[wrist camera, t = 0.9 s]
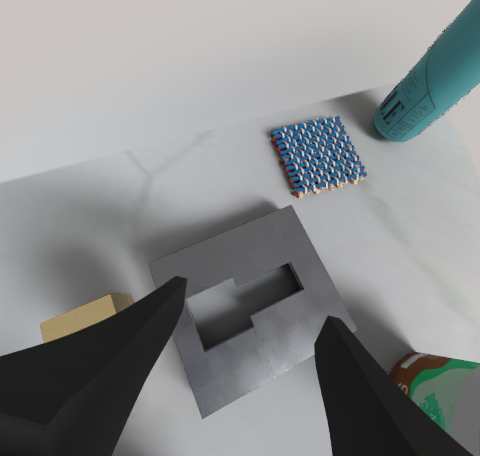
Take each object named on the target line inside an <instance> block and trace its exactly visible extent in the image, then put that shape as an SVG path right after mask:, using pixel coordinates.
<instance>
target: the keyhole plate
mask: <svg viewBox="0 0 480 456" xmlns="http://www.w3.org/2000/svg"><path fill="white" fill-rule="evenodd" d="M287 263H288V264H289V266H290V268H291V270H292V272H293V274H294V276H295V278H296V280H297V282H298V284H299V286H300V288H301V290H299V291H297V292H295V293H293V294H291V295H289V296H287V297H285V298H283V299H281V300H279V301H277V302H275V303H273V304H271V305H269V306H267V307H265V308H263V309H261V310H259V311H257V312H255V313H253V314H251V315H249V317H250V319H251V321H252V324H253V326H251V327H249V328H247V329H245V330H243V331H241V332H239V333H237V334H235V335H233V336H231V337H230V338H228V339H226V340H224V341H222V342H220V343H218V344H216V345H214V346H212V347H210V348H208V349H206V350H205V348H204V345H203V343H202V340H201V337H200V335H199V332H198V329H197V327H196V324H195V321H194V319H193V316H192V313H191V311H190V308H189V305H188V303H187V300H186V299H187V298H189V297H191V296H193V295H195V294H197V293H200V292H202V291H204V290H206V289H208V288H211V287H213V286H215V285H217V284H219V283H222V282H224V281H226V280H228V279H230V278H233V280H234V282H235V284H236V287H237V286H239V285H242V284H244V283H246V282H248V281H250V280H252V279H254V278H257V277H259V276H261V275H263V274H265V273H267V272H269V271H272V270H274V269H276V268H278V267H280V266H282V265H284V264H287ZM148 265H149V268H150V271H151V273H152V276H153V279H154V282H155V285H156V288H157V289H158V288H159V287H160V286H162V285H163V284H165V283H166V282H168V281H169V280H170V279H172V278H173V277H175V276H179V277H183V278H187V279H188V280H187V287H186V294H185V300H184V307H183V311H182V313H181V316H180V318H179V321H178V323H177V325H176V327H175V329H174V331H173V333H172V334H173V336H174V339H175V342H176V345H177V348H178V351H179V354H180V356H181V359H182V362H183V365H184V368H185V371H186V374H187V376H188V379H189V382H190V385H191V388H192V391H193V394H194V397H195V399H196V402H197V405H198V408H199V411H200V414H201V417H202V419H203V418H205V417H207V416H208V415H210V414H212V413H214V412H215V411H217V410H219V409H221V408H222V407H224V406H226V405H228V404H229V403H231V402H233V401H235V400H236V399H238V398H240V397H242V396H243V395H245V394H247V393H249V392H250V391H252V390H254V389H256V388H257V387H259V386H261V385H263V384H264V383H266V382H268V381H270V380H271V379H273V378H275V377H277V376H278V375H280V374H282V373H284V372H285V371H287V370H289V369H291V368H292V367H294V366H296V365H298V364H299V363H301V362H303V361H305V360H306V359H308V358H310V357H312V356H313V355H315V352H314V343H315V341H316V339H317V337H318V335H319V333H320V331H321V329H322V327H323V324H324V322H325V320H326V318H327V316H328V315H329V316H333V317H337V318H340V319H341V320H342V321H343V322H344V323H345V324H346V326H347V327H348V328H349V329H350V330H351V332H352V333H353V332H355V331H357V330H358V329H357V327H356V325H355V323H354V321H353V320H352V318H351V316H350V314H349V312H348V310H347V308H346V306H345V305H344V303H343V301H342V299H341V297H340V295H339V293H338V291H337V290H336V288H335V286H334V284H333V282H332V280H331V278H330V276H329V275H328V273H327V271H326V269H325V267H324V265H323V263H322V261H321V260H320V258H319V256H318V254H317V252H316V250H315V248H314V246H313V245H312V243H311V241H310V239H309V237H308V235H307V233H306V231H305V230H304V228H303V226H302V224H301V222H300V220H299V218H298V216H297V215H296V213H295V211H294V209H293V207H292V205H289V206H287V207H285V208H282V209H280V210H277V211H275V212H272V213H270V214H268V215H265V216H263V217H260V218H258V219H255V220H253V221H250V222H248V223H246V224H243V225H241V226H238V227H236V228H233V229H231V230H229V231H226V232H224V233H221V234H219V235H216V236H214V237H211V238H209V239H207V240H204V241H202V242H199V243H197V244H194V245H192V246H189V247H187V248H185V249H182V250H180V251H177V252H175V253H172V254H170V255H168V256H165V257H163V258H160V259H158V260H155V261H153V262H150V263H148Z"/></svg>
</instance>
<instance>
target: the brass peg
mask: <svg viewBox="0 0 480 456" xmlns="http://www.w3.org/2000/svg"><path fill="white" fill-rule="evenodd" d="M132 304H134V301H133V298H132V295H131V294H109V295H107V296H104V297H102V298H100V299H97V300H95V301H92V302H90V303H88V304H85V305H83V306H81V307H78V308H76V309H74V310H71V311H69V312H66V313H64V314H62V315H59V316H57V317H55V318H52V319H50V320H48V321H45V322H43V323H40V328H41V332H42V337H43V341H44V343H46V342H49V341H52V340H55V339H58V338H61V337H63V336H66V335H69V334H71V333H74V332H76V331H79V330H81V329H84V328H86V327H88V326H91V325H93V324H96V323H98V322H100V321H102V320H104V319H106V318H108V317H110V316H112V315H114V314H116V313H118V312H120V311H122V310H124V309H126V308H127V307H129V306H131V305H132Z"/></svg>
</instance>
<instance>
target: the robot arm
mask: <svg viewBox="0 0 480 456" xmlns="http://www.w3.org/2000/svg"><path fill="white" fill-rule="evenodd" d="M187 280H188V279H187V278H183V277H179V276H175V277H173V278H172V279H170V280H169V281H168V282H166V283H165V284H163V285H162V286H160V287H159V288H158V289H156V290H155V291H153V292H152V293H150V294H149V295H147V296H145V297H144V298H142V299H141V300H139V301H137V302H136V303H134V304H132V305H131V306H129V307H127V308H126V309H124V310H122V311H120V312H118V313H116V314H114V315H112V316H110V317H108V318H106V319H104V320H102V321H100V322H98V323H96V324H93V325H91V326H88V327H86V328H84V329H81V330H79V331H76V332H74V333H71V334H69V335H66V336H63V337H61V338H58V339H55V340H52V341H49V342H46V343H43V344H40V345H37V346H34V347H31V348H27V349H24V350H21V351H17V352H14V353H10V354H7V355H3V356H0V456H112V453H113V451H114V449H115V446H116V444H117V442H118V440H119V437H120V435H121V433H122V431H123V428H124V426H125V424H126V422H127V419H128V417H129V415H130V413H131V411H132V408H133V406H134V404H135V402H136V400H137V398H138V396H139V393H140V391H141V389H142V387H143V385H144V383H145V381H146V379H147V377H148V375H149V373H150V371H151V369H152V368H153V366H154V364H155V363H156V361H157V359H158V357H159V356H160V354H161V352H162V350H163V349H164V347H165V345H166V343H167V342H168V340H169V338H170V336H171V335H172V333H173V331H174V329H175V327H176V325H177V323H178V321H179V318H180V316H181V313H182V311H183V307H184V300H185V294H186V287H187ZM314 352H315V363H316V369H317V374H318V379H319V384H320V388H321V393H322V398H323V402H324V407H325V411H326V416H327V421H328V426H329V432H330V439H331V446H332V454H333V456H473V455H472V454H471V453H470V452H469V451H467V450H466V449H465V448H464V447H463V446H462V445H460V444H459V443H458V442H457V441H456V440H455V439H453V438H452V437H451V436H450V435H449V434H448V433H447V432H446V431H445V430H443V429H442V428H441V427H440V426H439V425H438V424H437V423H436V422H435V421H433V420H432V419H431V418H430V417H429V416H428V415H427V414H426V413H425V412H424V411H423V410H422V409H421V408H420V407H419V406H418V405H417V404H416V403H415V402H414V401H413V400H412V399H411V398H410V397H409V396H408V395H407V394H406V393H405V392H404V391H403V390H402V389H401V388H400V387H399V386H398V385H397V384H396V383H395V382H394V381H393V380H392V379H391V378H390V376H389V375H388V374H387V373H386V372H385V371H384V370H383V369H382V368H381V366H380V365H379V364H378V363H377V362H376V361H375V359H374V358H373V357H372V356H371V355H370V354H369V352H368V351H367V350H366V349H365V348H364V346H363V345H362V344H361V343H360V341H359V340H358V339H357V338H356V337H355V335H354V334H353V333H352V332H351V330H350V329H349V328H348V327H347V326H346V324H345V323H344V322H343V321H342V320H341V319H340V318H337V317H333V316H329V315H328V316H327V318H326V320H325V322H324V324H323V327H322V329H321V331H320V333H319V335H318V337H317V339H316V341H315V343H314Z"/></svg>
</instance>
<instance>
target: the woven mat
mask: <svg viewBox="0 0 480 456" xmlns="http://www.w3.org/2000/svg"><path fill="white" fill-rule="evenodd" d="M339 119H340V117H339V116H337V117H335V118H333V117H332V116H330V118H329V117H328V118H327V119H325V118H323V120H318V118H317V119H316V121H315V120H313V121H311V122H310V121H309V122H308V123H307V124H306V123H303V122H302V123H303V124H302V123H301V124H300V123H299V124H298V125H294V124H293V125H294V126H289V127H288V126H287V128H285V127H283V128H279V129H277V130H275V131H272V132H271V137H273V138H274V139H273V140H272V142H273V143H274V142H275V143H276V144H275V145H274V146H275V147H277V152H279V153H280V154H279V157H281V158H282V159H283V160H282V159H281V160H280V162H281V163H284V164H283V167H285V168H286V170H285V173H288V175H287V178H290V181H289V183H290V184H291V183H292V187H291V188H292V189H294V190H295V192H294V193H293V195H294V196H298V198H299V199H302V198H303V194H304V193H305V194H307V195H308V194H310V192H312V191H313V192H314V193H315V194H319V193H320V190H319V189H321V190H322V191H323V190H325V187H326V188H328V187H329V190H330V191H332V190H334V185H337V188H342V186H343V184H344V185H345V184H348V182H347V181H351V183H352V184H357V182H358V181H361V180H362V179H364V178H363V177H365V176H367V173H366V172H362V171H364V168H365V167H364V165H363V166H361V164H362V163H361V161H358V160H359V156H358V155H357V156H356V151H353V150H354V149H353V148H354V146H353V145H352V144H351V141H349V136H345V134H347V133H346V131H344V125H343V126H341V124H342V123H341V122H340V120H339ZM339 143H340V144H339ZM330 145H332V146H330ZM351 145H352V146H351ZM335 155H336V156H335ZM345 158H346V159H345ZM348 163H350V164H348ZM293 165H294V166H293ZM360 166H361V167H360ZM350 169H351V170H350ZM292 171H294V172H292ZM319 171H320V172H319ZM312 172H313V173H312ZM335 172H336V173H335ZM329 174H330V175H329ZM352 174H353V175H352ZM354 174H355V175H354ZM346 175H347V177H346ZM295 176H298V177H295ZM331 179H333V180H331ZM297 182H299V183H297ZM315 184H316V185H315ZM300 187H303V188H300Z"/></svg>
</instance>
